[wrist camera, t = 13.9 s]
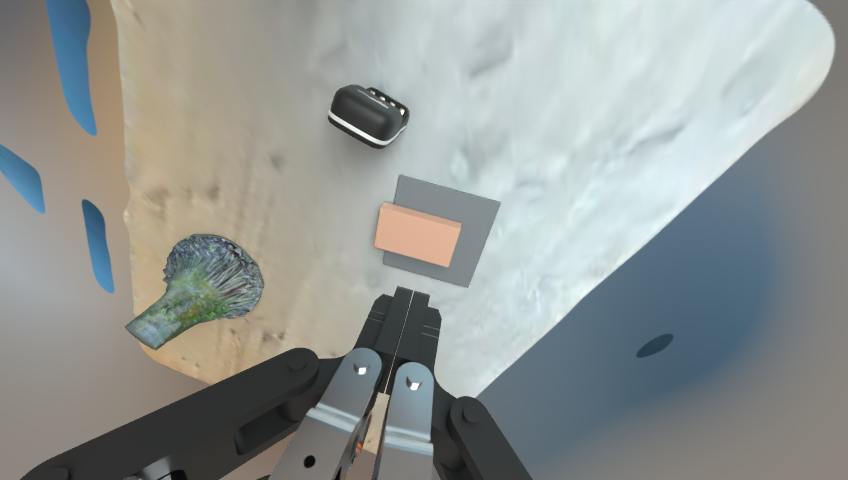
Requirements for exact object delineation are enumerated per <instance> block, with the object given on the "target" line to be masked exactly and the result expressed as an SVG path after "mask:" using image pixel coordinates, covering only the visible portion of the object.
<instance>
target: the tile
mask: <svg viewBox="0 0 848 480" xmlns="http://www.w3.org/2000/svg"><path fill="white" fill-rule="evenodd" d="M460 230H461V223H459V222H456V221H452V220H448V219H445V218H441V217H438V216H434V215H430V214H427V213H423V212H419V211H416V210H412V209H409V208H405V207H401V206H398V205H394V204H390V203H387V202H384V203H383V205H382V206H381V208H380V214H379V220H378V227H377V233H376V239H375V245H374V247H377V248H381V249H384V250H388V251H391V252H395V253H398V254H402V255H406V256H409V257H413V258H416V259H420V260H423V261H427V262H431V263H434V264H438V265H441V266H445V267H449V264H450V261H451V257H452V254H453V251H454V248H455V245H456V242H457V239H458V236H459V233H460Z"/></svg>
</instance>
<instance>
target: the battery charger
mask: <svg viewBox="0 0 848 480" xmlns="http://www.w3.org/2000/svg"><path fill="white" fill-rule="evenodd" d="M408 118H409V111H408V109H407V108H406V107H405V106H404V105H402V104H400V103H399V102H397V101H396V100H394V99H392V98H391V97H389V96H387V95H386V94H384V93H382V92H380V91H379V90H377V89H375V88H372V87H371V88H368V89H364V88H363V87H361V86H359V85H349V86H346V87H343V88H340V89H339V90H338V91H337V92H336V94H335V96H334V99H333V102H332V105H331V107H330V108H329V111H328V120H329V122H330V123H331V124H333V125H334V126H335V127H337V128H339V129H340V130H342V131H344V132H346V133H347V134H349V135H351V136H352V137H354V138H356V139H358V140H359V141H361V142H363V143H365V144H367V145H369V146H371V147H373V148H376V149H382V148H385V147H386V146H388V145H389V144H390V143H391V142H392V141H393V140H394V139H395V138H396V137H397V135H398V134H400V133H401V132H402V131H403V130H404V129H405V127H406V124H407V122H408Z"/></svg>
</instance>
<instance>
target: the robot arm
mask: <svg viewBox="0 0 848 480" xmlns="http://www.w3.org/2000/svg"><path fill="white" fill-rule="evenodd" d="M412 293H413V290H410V289H406V288H403V287H399V286H398V287H397V289H396V292H395V294H394V297H392V296H388V295H385V294H383V295H381V296H380V297H379V298H378V299H376V300H375V302H374V304H373V306H372V308H371V311H370V313H369V315H368V318H367V320H366V322H365V324H364V326H363V328H362V331H361V333H360V335H359V337H358V340H357V342H356V344H355V346H354V348H353V349H352V350H351V351H350V352H349V353H347V354H346V355H344V356H342V357H339V358H332V359H318V357H317V355H316V354H315V353H314V352H313V351H312V350H310V349H307V348H295V349H291V350H289V351H286V352H284V353H282V354H280V355H278V356H275V357H273V358H271V359H269V360H267V361H264V362H262V363H260V364H258V365H256V366H253V367H251V368H249V369H247V370H245V371H242V372H240V373H238V374H236V375H234V376H231V377H229V378H227V379H225V380H222V381H220V382H218V383H216V384H214V385H211V386H209V387H207V388H205V389H203V390H201V391H198V392H196V393H194V394H192V395H190V396H188V397H185V398H183V399H181V400H179V401H176V402H175V403H172V404H170V405H167V406H165V407H163V408H161V409H159V410H156V411H154V412H152V413H150V414H148V415H145V416H143V417H141V418H139V419H137V420H134V421H132V422H130V423H128V424H125V425H123V426H121V427H119V428H117V429H114V430H112V431H110V432H108V433H106V434H104V435H101V436H99V437H97V438H95V439H92V440H90V441H88V442H86V443H84V444H81V445H79V446H77V447H75V448H73V449H70V450H68V451H66V452H64V453H62V454H59V455H57V456H55V457H53V458H51V459H49V460H47V461H45V462H43V463H41V464H40V465H38V466H37V467H35V468H34V469H32V470H31V471H30V472H28V473H27V474H26V475H25V476H23V477H22V478H21V479H20V480H219V479H220V478H222V477H224V476H225V475H227V474H228V473H230V472H231V471H233V470H235V469H236V468H238V467H239V466H241V465H242V464H244V463H246V462H247V461H249V460H250V459H252V458H254V457H255V456H257V455H258V454H260V453H261V452H263V451H265V450H266V449H268V448H269V447H271V446H272V445H274V444H276V443H277V442H279V441H280V440H282V439H284V438H285V437H287V436H288V435H290V434H291V433H293V432H294V431H296V430H297V431H296V433H295V434H294V436H293V438H292V440H291V441H290V443H289V445H288V446H287V448H286V450H285V452H284V453H283V455H282V457H281V459H280V460H279V462H278V464H277V465H276V467H275V469H274V470H273V472H272V474H271V475H268V476H264V477H262V478H260V479H258V480H345V478H346V475H347V472H348V469H349V466H350V463H351V461H352V458H353V456H354V453H355V451H356V448H357V446H358V443H359V441H360V438H361V436H362V433H363V431H364V428H365V426H366V423H367V421H368V418H369V416H370V413H371V410H372V409H373V407H374V404H375V401H376V398H377V395H378V392H380V393H383V394H384V390H385V387H386V384H387V380H388V377H389V374H390V370H391V367H392V363H393V360H394V363H393V367H392V370H391V374H390V378H389V382H388V385H387V389H386V393H385V394H387V395H390V397H389V401H388V404H387V408H386V412H385V415H384V420H383V425H382V430H381V435H380V440H379V445H378V450H377V456H376V460H375V465H374V470H373V475H372V479H371V480H432V466H433V464H434V466H435V468H436V470H437V472H438V474H439V477H440V479H441V480H533V479H532V478H531V477H530V475H529V473H528V472H527V471H526V469H525V467H524V466H523V464H522V463H521V461H520V460H519V458H518V457H517V455H516V453H515V452H514V451H513V449H512V447H511V446H510V444H509V443H508V441H507V440H506V438H505V437H504V435H503V434H502V432H501V430H500V429H499V427H498V426H497V424H496V423H495V421H494V420H493V418H492V417H491V415H490V414H489V412H488V411H487V409H486V408H485V407H484V405H483V404H482V403H481V402H480V401H478V400H477V399H475V398H472V397H469V396H463V397H459V398H455V397H454V396H452V395H451V394H449V393H448V392H446V391H445V390H444V389H442V388H441V386H440V385H439V384H438V382H437V381H436V378H435V375H434V365H435V359H436V352H437V346H438V338H439V333H440V327H441V320H442V319H441V316H440V313H439V310H438V309H434V308H431V307H427V306H428V302H429V297H430V295H428V294H424V293H421V292H417V291H414V294H413V298H412V301H411V297H412ZM410 301H411V304H410ZM409 304H410V308H409ZM408 308H409V311H408ZM407 312H408V315H407ZM406 316H407V318H406ZM405 319H406V321H405ZM404 323H405V325H404ZM403 326H404V328H403ZM402 330H403V332H402ZM401 333H402V335H401ZM400 336H401V338H400ZM399 340H400V342H399ZM398 343H399V345H398ZM397 347H398V348H397ZM396 350H397V352H396ZM395 353H396V355H395ZM394 357H395V359H394Z"/></svg>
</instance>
